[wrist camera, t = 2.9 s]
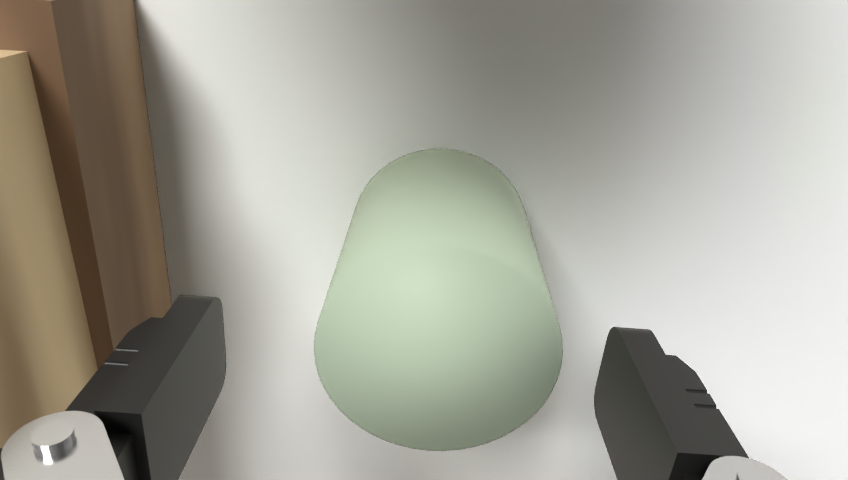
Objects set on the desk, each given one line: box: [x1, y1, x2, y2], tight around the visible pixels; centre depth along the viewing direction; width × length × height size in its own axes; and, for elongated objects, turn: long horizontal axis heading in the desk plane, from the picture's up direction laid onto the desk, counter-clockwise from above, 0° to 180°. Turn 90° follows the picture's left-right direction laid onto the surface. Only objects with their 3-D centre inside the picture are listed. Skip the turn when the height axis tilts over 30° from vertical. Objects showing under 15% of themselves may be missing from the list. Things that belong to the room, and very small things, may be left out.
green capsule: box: [314, 149, 563, 451], centre depth 15 cm, size 5×5×6 cm
